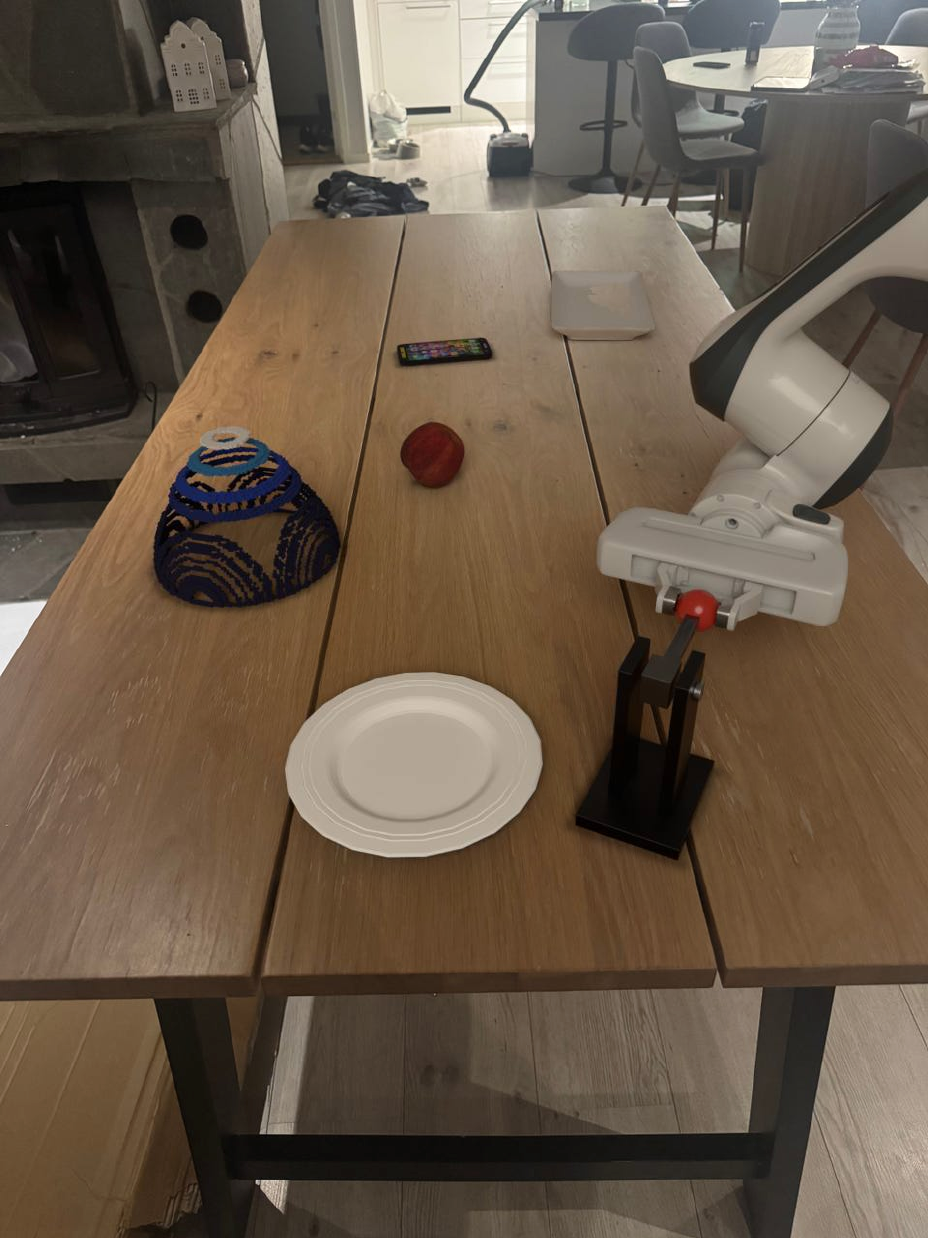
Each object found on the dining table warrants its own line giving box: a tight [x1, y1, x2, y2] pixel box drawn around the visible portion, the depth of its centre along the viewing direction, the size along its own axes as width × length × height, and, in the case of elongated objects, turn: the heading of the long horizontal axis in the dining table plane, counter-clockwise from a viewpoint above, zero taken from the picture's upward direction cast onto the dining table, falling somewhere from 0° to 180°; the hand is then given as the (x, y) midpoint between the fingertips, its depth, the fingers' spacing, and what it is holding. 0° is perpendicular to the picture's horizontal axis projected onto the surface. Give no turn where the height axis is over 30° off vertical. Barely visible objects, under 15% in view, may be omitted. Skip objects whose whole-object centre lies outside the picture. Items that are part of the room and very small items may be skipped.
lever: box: [638, 589, 720, 710], centre depth 69 cm, size 13×3×3 cm, turn 153°
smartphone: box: [396, 337, 493, 366], centre depth 150 cm, size 8×1×15 cm
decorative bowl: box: [152, 425, 342, 609], centre depth 99 cm, size 20×20×14 cm
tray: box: [550, 270, 656, 341], centre depth 162 cm, size 17×32×4 cm, turn 175°
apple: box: [399, 421, 466, 488], centre depth 113 cm, size 7×8×8 cm
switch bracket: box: [575, 635, 716, 862], centre depth 69 cm, size 10×8×14 cm
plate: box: [284, 671, 544, 860], centre depth 76 cm, size 21×21×2 cm
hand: (694, 614), depth 72 cm, fingers closed on lever, 3 cm apart
